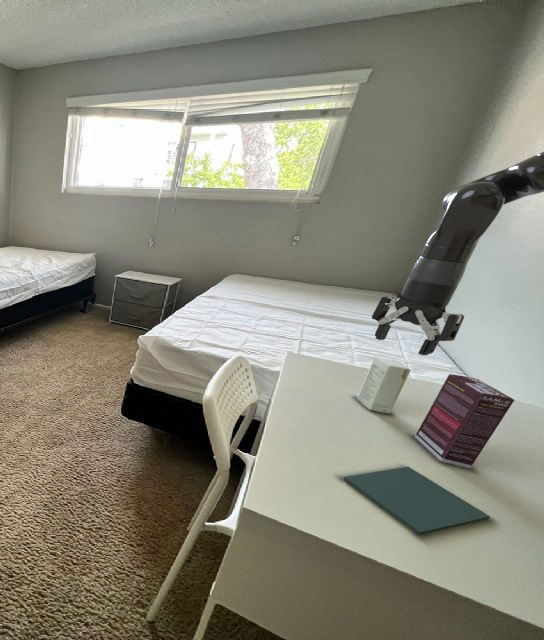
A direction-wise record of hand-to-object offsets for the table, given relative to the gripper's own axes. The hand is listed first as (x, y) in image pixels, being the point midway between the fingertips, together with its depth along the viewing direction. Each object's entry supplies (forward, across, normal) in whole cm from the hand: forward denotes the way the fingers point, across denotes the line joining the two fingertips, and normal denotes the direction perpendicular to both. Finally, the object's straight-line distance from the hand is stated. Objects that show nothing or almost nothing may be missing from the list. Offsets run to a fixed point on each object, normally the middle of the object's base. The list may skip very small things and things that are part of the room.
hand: (400, 346), depth 82 cm
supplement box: (+17, -16, +5) cm, 24 cm away
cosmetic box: (+17, 0, 0) cm, 17 cm away
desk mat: (+16, -24, +27) cm, 40 cm away
